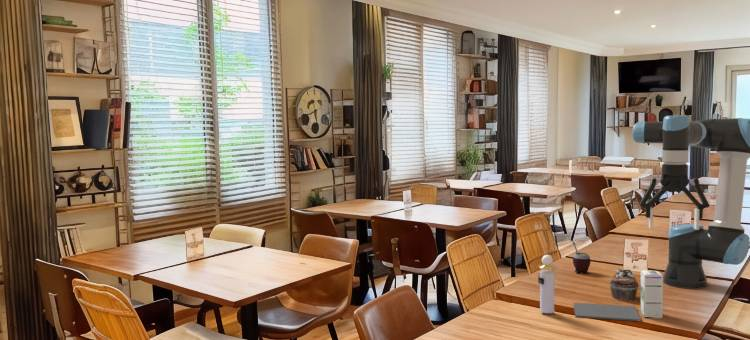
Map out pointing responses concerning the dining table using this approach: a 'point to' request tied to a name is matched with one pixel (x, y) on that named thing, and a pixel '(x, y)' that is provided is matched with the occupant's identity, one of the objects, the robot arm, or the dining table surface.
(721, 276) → the dining table surface
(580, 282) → the dining table surface
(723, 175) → the robot arm
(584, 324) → the dining table surface
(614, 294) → the cupcake
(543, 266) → the perfume bottle
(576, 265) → the mate gourd
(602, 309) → the topple mat
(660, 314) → the syrup box
